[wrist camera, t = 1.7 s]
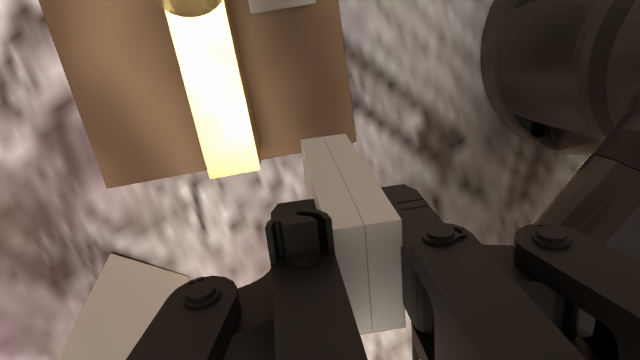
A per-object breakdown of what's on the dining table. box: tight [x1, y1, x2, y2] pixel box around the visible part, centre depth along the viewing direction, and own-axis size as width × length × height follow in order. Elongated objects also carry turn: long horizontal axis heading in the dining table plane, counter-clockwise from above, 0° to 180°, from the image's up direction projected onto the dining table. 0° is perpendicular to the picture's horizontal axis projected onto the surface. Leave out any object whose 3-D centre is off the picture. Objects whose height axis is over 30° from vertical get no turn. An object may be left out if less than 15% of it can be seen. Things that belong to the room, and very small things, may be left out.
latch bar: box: [154, 0, 261, 179], centre depth 26 cm, size 13×4×4 cm, turn 9°
